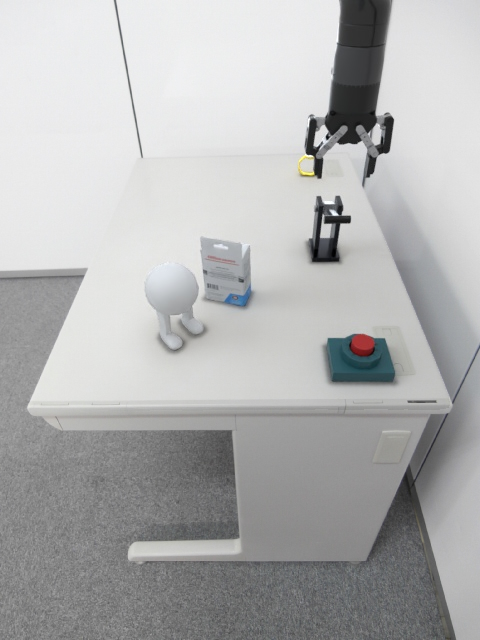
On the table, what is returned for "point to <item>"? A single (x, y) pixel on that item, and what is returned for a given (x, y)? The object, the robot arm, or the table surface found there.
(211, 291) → the ink box
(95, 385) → the table surface
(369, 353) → the stop button
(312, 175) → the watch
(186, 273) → the toy character
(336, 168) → the table surface
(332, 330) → the table surface
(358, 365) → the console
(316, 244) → the bracket
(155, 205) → the table surface
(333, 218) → the lever
